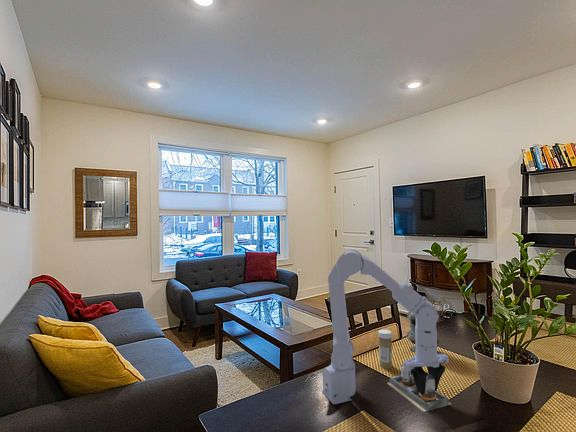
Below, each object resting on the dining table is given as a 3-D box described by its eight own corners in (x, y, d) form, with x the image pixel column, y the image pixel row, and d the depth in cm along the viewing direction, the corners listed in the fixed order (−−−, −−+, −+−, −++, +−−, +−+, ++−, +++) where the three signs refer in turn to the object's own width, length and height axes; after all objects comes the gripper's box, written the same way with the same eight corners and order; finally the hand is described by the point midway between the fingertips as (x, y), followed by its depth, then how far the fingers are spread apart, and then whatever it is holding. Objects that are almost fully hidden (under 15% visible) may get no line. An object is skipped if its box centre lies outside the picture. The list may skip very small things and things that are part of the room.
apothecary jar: (442, 359, 119) (441, 312, 119) (408, 356, 123) (407, 309, 123) (437, 347, 131) (436, 303, 131) (406, 344, 134) (405, 301, 135)
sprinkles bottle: (395, 369, 112) (394, 331, 112) (386, 373, 110) (386, 334, 110) (384, 365, 116) (384, 328, 116) (376, 368, 113) (375, 330, 113)
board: (423, 416, 86) (423, 405, 86) (386, 386, 101) (386, 377, 101) (452, 408, 89) (451, 398, 89) (412, 381, 104) (412, 372, 104)
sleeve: (427, 403, 88) (426, 382, 88) (415, 395, 93) (415, 374, 93) (440, 400, 90) (439, 379, 90) (428, 392, 94) (427, 371, 94)
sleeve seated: (407, 391, 96) (406, 371, 96) (397, 384, 100) (396, 365, 100) (419, 388, 97) (418, 368, 97) (409, 381, 102) (408, 362, 102)
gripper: (415, 352, 85) (416, 403, 85) (456, 345, 90) (457, 393, 90) (398, 343, 92) (399, 390, 92) (437, 336, 97) (438, 381, 97)
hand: (426, 390), depth 91 cm, fingers closed on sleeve, 4 cm apart
